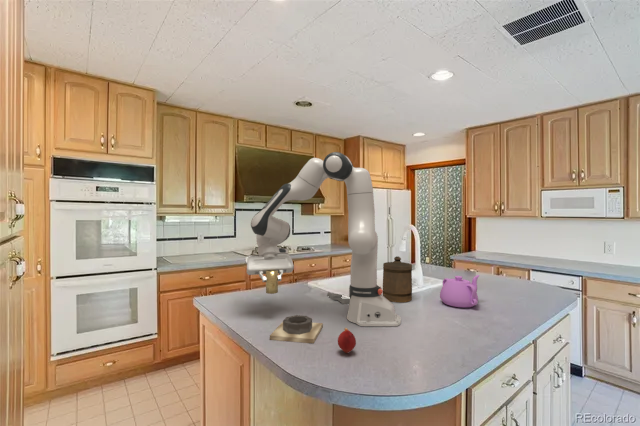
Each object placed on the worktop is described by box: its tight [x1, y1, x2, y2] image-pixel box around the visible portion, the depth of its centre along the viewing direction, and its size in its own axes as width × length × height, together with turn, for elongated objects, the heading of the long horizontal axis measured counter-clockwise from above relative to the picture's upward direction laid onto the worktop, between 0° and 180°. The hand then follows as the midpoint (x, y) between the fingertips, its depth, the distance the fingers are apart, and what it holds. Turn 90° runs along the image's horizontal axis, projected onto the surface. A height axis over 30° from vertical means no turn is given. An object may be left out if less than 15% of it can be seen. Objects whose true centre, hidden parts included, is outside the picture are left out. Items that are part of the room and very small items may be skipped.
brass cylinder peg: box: [265, 270, 279, 295], centre depth 136 cm, size 5×5×9 cm
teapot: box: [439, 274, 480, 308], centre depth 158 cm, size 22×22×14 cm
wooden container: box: [382, 256, 413, 303], centre depth 167 cm, size 15×15×22 cm
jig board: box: [269, 314, 324, 344], centre depth 120 cm, size 16×16×5 cm
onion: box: [337, 327, 357, 354], centre depth 103 cm, size 6×6×8 cm
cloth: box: [326, 291, 350, 305], centre depth 167 cm, size 26×14×2 cm, turn 13°
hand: (272, 281), depth 135 cm, fingers closed on brass cylinder peg, 5 cm apart
